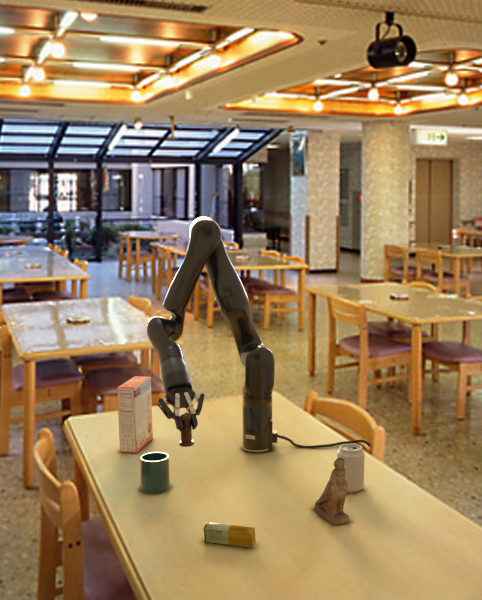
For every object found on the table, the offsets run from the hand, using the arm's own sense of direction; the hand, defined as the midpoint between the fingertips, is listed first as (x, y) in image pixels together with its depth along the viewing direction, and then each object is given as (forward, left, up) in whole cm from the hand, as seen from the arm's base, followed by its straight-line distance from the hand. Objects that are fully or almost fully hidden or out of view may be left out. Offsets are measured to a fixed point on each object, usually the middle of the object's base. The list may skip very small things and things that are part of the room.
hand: (188, 428), depth 219 cm
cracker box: (+19, -31, -15) cm, 39 cm away
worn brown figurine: (-37, +26, -15) cm, 48 cm away
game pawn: (+1, -2, -5) cm, 6 cm away
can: (-44, +9, -15) cm, 48 cm away
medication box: (-12, +40, -15) cm, 45 cm away
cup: (+9, +5, -15) cm, 18 cm away
